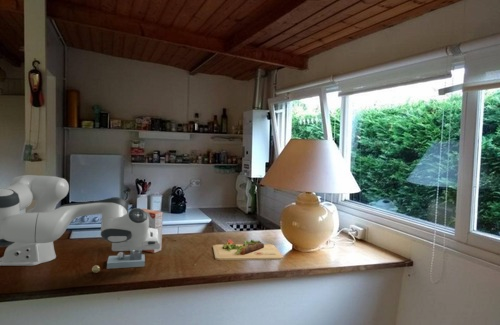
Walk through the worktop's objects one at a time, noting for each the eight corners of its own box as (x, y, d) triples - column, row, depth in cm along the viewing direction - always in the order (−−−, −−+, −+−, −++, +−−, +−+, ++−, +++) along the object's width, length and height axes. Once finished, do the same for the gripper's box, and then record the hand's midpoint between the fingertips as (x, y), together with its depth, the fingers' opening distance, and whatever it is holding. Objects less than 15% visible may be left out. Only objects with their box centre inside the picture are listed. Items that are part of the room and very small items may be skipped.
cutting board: (215, 261, 168) (216, 246, 168) (212, 247, 191) (213, 234, 191) (284, 261, 174) (284, 246, 174) (273, 247, 197) (273, 234, 197)
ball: (116, 260, 155) (117, 253, 155) (117, 257, 158) (117, 251, 158) (124, 259, 156) (124, 252, 156) (124, 257, 159) (124, 250, 159)
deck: (106, 268, 150) (107, 263, 150) (108, 261, 160) (108, 256, 160) (144, 266, 155) (144, 260, 155) (144, 259, 165) (144, 254, 165)
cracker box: (133, 248, 180) (135, 209, 179) (142, 246, 186) (143, 208, 185) (153, 253, 174) (155, 213, 173) (161, 250, 179) (163, 211, 178)
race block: (129, 260, 155) (130, 242, 155) (130, 256, 161) (130, 239, 160) (141, 259, 157) (142, 242, 156) (141, 255, 162) (141, 238, 162)
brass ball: (91, 274, 143) (91, 266, 143) (92, 271, 146) (92, 264, 146) (99, 273, 144) (99, 266, 144) (100, 271, 147) (100, 263, 147)
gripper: (109, 243, 138) (110, 259, 148) (161, 241, 145) (159, 257, 154) (111, 230, 142) (111, 246, 152) (161, 228, 149) (159, 244, 158)
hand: (136, 252), depth 153 cm, fingers closed
